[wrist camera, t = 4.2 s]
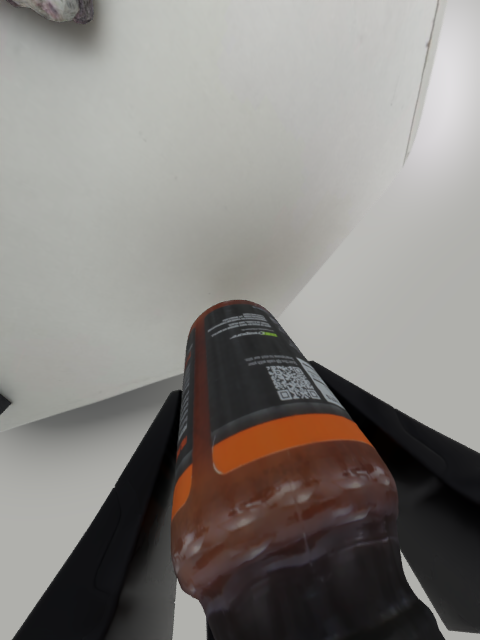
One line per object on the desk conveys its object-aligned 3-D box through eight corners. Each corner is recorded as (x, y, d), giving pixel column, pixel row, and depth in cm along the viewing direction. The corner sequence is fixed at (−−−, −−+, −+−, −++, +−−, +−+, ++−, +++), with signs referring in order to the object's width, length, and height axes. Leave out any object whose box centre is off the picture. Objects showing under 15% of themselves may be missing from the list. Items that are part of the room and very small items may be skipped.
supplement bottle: (209, 380, 13) (231, 793, 4) (169, 317, 10) (-264, 1696, 1) (283, 353, 14) (491, 692, 4) (266, 281, 10) (1128, 1111, 1)
